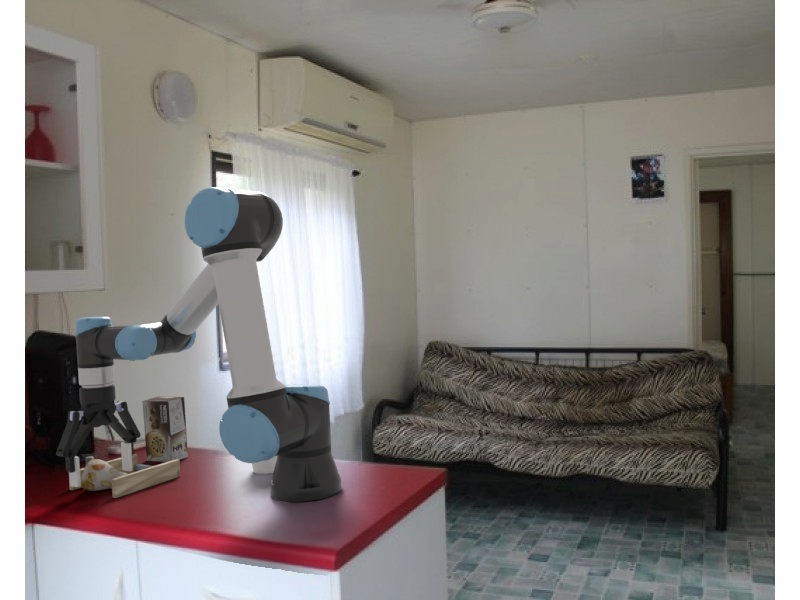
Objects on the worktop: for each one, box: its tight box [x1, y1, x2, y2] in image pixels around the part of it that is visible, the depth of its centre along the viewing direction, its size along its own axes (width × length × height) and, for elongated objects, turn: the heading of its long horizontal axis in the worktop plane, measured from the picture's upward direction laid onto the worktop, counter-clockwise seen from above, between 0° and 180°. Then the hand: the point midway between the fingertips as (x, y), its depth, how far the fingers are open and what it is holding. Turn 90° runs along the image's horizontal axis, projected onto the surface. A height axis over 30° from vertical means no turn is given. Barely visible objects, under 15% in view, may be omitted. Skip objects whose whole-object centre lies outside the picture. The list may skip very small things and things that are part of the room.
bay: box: [68, 453, 181, 499], centre depth 171 cm, size 16×18×4 cm
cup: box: [251, 456, 277, 475], centre depth 176 cm, size 9×9×12 cm
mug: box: [81, 458, 128, 492], centre depth 166 cm, size 8×10×10 cm
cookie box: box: [141, 396, 189, 463], centre depth 192 cm, size 9×6×16 cm
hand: (102, 478), depth 166 cm, fingers open, 13 cm apart
